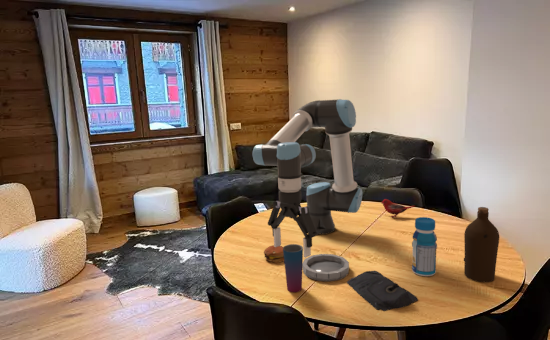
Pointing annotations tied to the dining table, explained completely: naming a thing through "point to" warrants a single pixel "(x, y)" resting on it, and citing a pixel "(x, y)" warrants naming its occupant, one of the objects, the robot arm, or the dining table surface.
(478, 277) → the olive oil
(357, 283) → the dark slate chunk
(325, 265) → the tray
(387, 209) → the decorative bird figurine
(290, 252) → the cup
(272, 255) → the burger
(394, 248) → the dining table surface
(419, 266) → the beverage bottle
